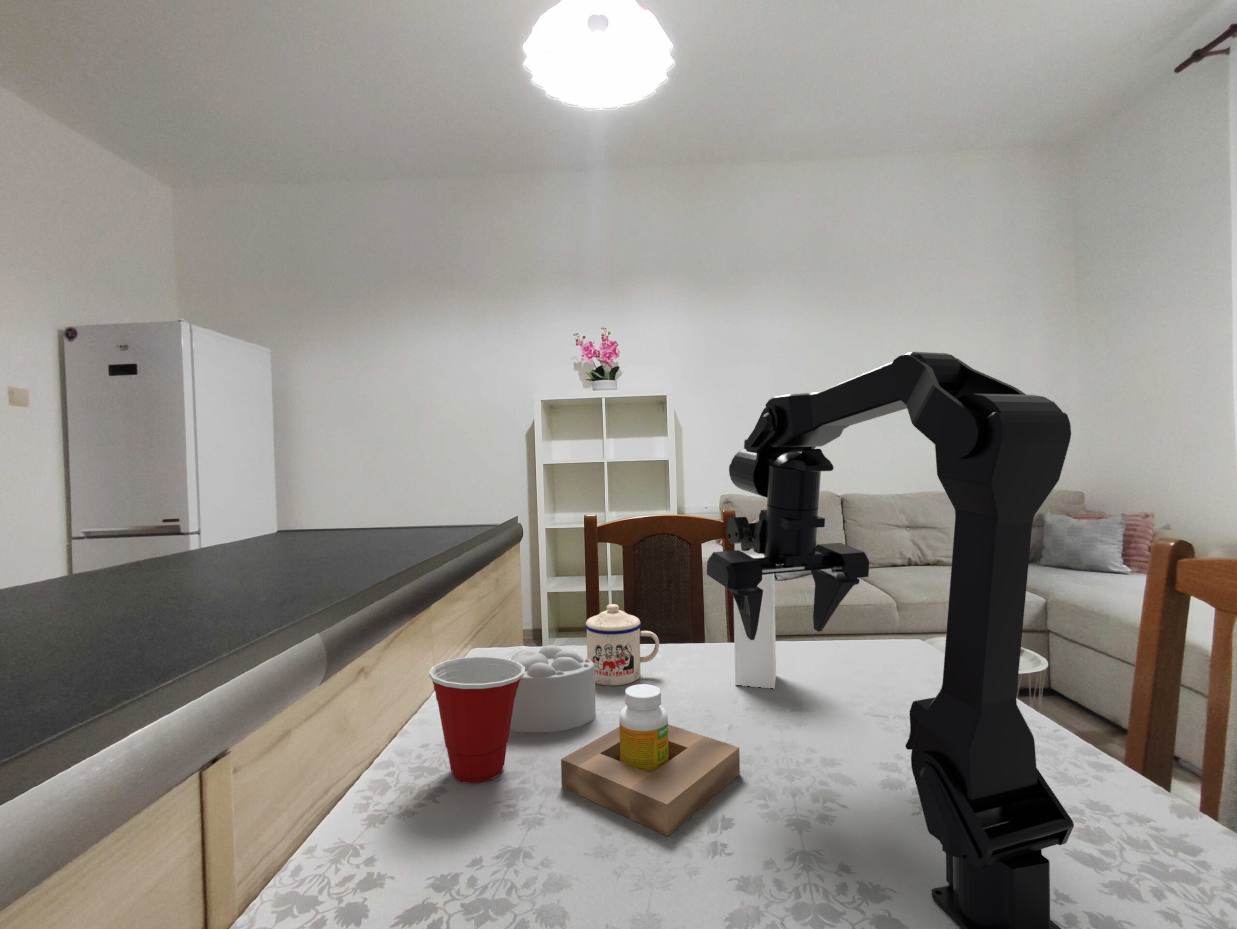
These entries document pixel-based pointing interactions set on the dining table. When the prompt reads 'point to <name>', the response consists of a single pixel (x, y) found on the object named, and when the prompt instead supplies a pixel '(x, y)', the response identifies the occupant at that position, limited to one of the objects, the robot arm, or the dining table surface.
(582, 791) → the bottle holder
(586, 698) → the lumpy-topped squat cylinder
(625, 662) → the teacup with lid
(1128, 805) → the dining table surface
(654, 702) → the supplement bottle
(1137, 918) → the dining table surface
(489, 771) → the plastic cup
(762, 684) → the milk
